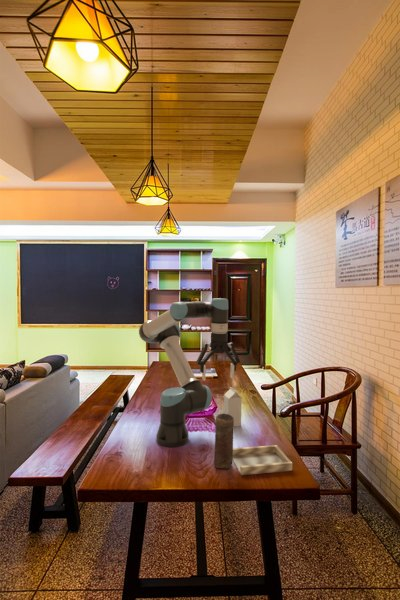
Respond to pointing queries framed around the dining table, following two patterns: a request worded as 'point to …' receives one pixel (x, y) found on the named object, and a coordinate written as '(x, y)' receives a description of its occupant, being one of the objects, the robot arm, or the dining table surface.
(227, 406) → the milk carton
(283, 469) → the tray
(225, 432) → the candle
